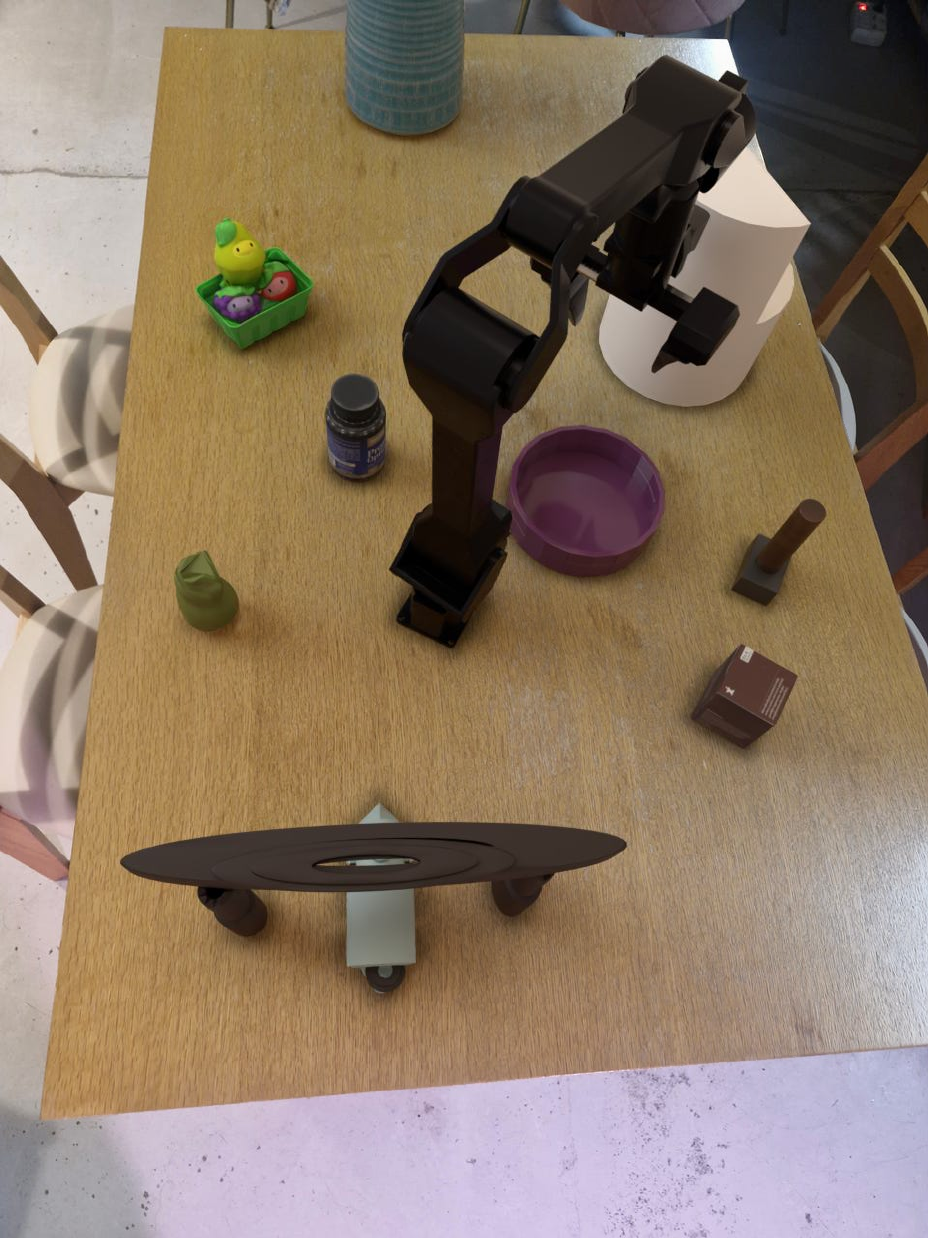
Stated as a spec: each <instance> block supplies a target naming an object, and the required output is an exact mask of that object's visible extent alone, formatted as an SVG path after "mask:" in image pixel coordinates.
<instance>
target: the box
mask: <svg viewBox="0 0 928 1238" xmlns="http://www.w3.org/2000/svg"><path fill="white" fill-rule="evenodd" d="M722 662H723V663H721V665H720V666H719V667H717V668H716V670H714V672H712V674H711V676H710V678H709V680H708V682H707V684H706V686H705V688H704V690H703V691H702V693H701V696H700V698H699V699H698V701H697V702H696V705H695V707H694V709H693V711H692V712H691V714H690V719H691V720H692V721H694V722H696V723H698V724H699V725H701V726H702V727H705V728H706V729H708V730H709V731H711V732H713V733H715V734H716V735H718V736H720V737H721V738H724V739H725V740H727V741H728V742H730V743H732V744H733V745H736V746H737V747H739V748H741V749H743V750H746V749H747V748H748V747H749V746H751V745H752V744H753V743H754V742H756V741H757V740H758V739H759V738H761V737H762V736H763V735H764V734H766V733H768V732H769V731H770V730H771V729H773V728H775V726H776V725H777V724H778V721H779V719H780V717H781V716H782V713H783V711H784V708H785V706H786V704H787V703H788V700H789V698H790V696H791V693H792V691H793V689H794V687H795V684H796V682H797V681H798V678H799V675H798V674H797V673H794V672H793V671H792V670H790V669H788V668H786V667H785V666H782V665H780V664H778V663H777V662H775V661H773V660H771V659H770V658H768V657H766V656H764V655H762V654H761V653H759V652H757V651H756V650H755V649H752V647H751V648H750V647H749V646H747V645H745V644H743V643H739V644H738V646H737V647H736V648H735V649H734V650H733V651H732V652H731V653H730V654H729V656H728V657H727V658H726V659H725V660H724V661H722Z"/></svg>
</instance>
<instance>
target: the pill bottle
mask: <svg viewBox="0 0 928 1238" xmlns="http://www.w3.org/2000/svg"><path fill="white" fill-rule="evenodd" d="M324 417H325V418H324V419H325V429H326V443H327V452H328V453H327V454H328V463H329V465H330V467H331V468H332V470H333V471H334V473H335V474H337V475H338V476H339V477H341V478H342V479H344V480H347V481H350V482H365V481H367V480H370V479H372V478H374V477H376V476H377V475H379V473H381V471H382V470H383V468H384V466H385V463H386V451H387V450H386V449H387V448H386V445H387V444H386V443H387V411H386V406H385V404H384V403H383V401H382V400H381V398H380V390H379V387H378V384H377V383H376V382H375V381H374V380H373V379H372V378H370V376H367V375H365V374H361V373H348V374H344V375H342V376H340V377H338V378H337V379H336V380H335V381H334V382H333V384H332V386H331V389H330V399H329V400H328V401H327V403H326V406H325V411H324Z"/></svg>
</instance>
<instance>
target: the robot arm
mask: <svg viewBox="0 0 928 1238" xmlns="http://www.w3.org/2000/svg"><path fill="white" fill-rule="evenodd" d="M748 84H749V80H747V79H746V78H744V77H742V76H740V75H738V74H736V73H734V72H732V71H730V70H728V69H727V70H726V71H725V72H724V73H723V74H722V75H721V77H720V78H719V79H718V80H717V79H715V78H713V77H711V76H709V75H708V74H706V73H703V72H702V71H700V70H697V69H696V68H695V67H691V66H690V65H688V64H686V63H684V62H682V61H680V60H678V59H676V58H674V57H672V56H670V55H668V54H664V55H661V56H660V57H658V58H657V59H656V60H654V61H653V62H652V63H651V64H650V65H649V66H646V67H644V68H643V69H642V70H641V71H640V72H638V73H637V75H636V76H635V78H634V80H632V81H630V83H629V84H628V86H627V87H626V90H625V93H624V104H623V108H622V112H621V115H620V116H618V117H617V118H616V119H614V120H613V121H612V122H610V123H609V124H607V125H606V126H605V127H603V128H602V129H601V130H600V131H598V132H596V133H595V134H594V135H593V136H591V137H590V138H589V139H587V140H586V141H584V142H583V143H581V144H580V145H579V146H577V147H576V148H574V149H573V150H572V151H571V152H569V153H568V154H566V155H565V156H564V157H562V158H561V159H560V160H559V161H557V162H555V163H554V164H553V165H551V166H550V167H549V168H548V169H546V170H545V171H543V172H542V173H541V174H538V176H533V177H530V176H529V175H523V176H520V177H519V178H518V179H517V180H516V181H515V182H514V183H513V184H512V185H511V188H510V189H509V190H508V192H507V194H506V195H505V197H504V199H503V201H502V202H501V204H500V206H499V207H498V209H497V211H496V213H495V215H493V216H494V217H493V218H492V220H491V221H490V222H489V223H488V224H486V225H484V226H483V227H481V228H480V229H478V230H476V231H475V232H474V233H472V234H471V235H469V236H468V237H467V238H465V239H463V240H462V241H460V242H459V243H457V244H456V245H454V246H453V247H451V248H450V249H448V250H446V251H445V252H444V253H443V254H442V255H441V256H440V257H439V259H438V260H437V263H436V264H435V266H434V268H433V270H432V271H431V273H430V275H429V277H428V279H427V280H426V283H425V284H424V286H423V288H422V289H421V291H420V293H419V295H418V297H417V299H416V300H415V302H414V304H413V306H412V308H411V310H410V311H409V313H408V315H407V318H406V319H405V322H404V325H403V328H402V333H401V342H402V350H401V356H402V363H403V366H404V367H403V368H404V370H405V375H406V378H407V382H408V385H409V387H410V388H411V390H412V391H413V392H414V393H415V395H416V396H417V397H418V399H419V400H420V402H421V403H422V404H423V405H424V407H425V408H426V410H427V411H428V412H429V414H430V415H431V502H430V503H428V504H427V505H426V506H425V507H424V508H423V509H422V510H420V511H418V512H416V513H415V515H414V517H413V519H412V520H411V523H410V525H409V528H408V529H407V532H406V533H405V535H404V538H403V540H402V542H401V544H400V547H399V549H398V551H397V552H396V555H395V557H394V558H393V560H392V562H391V564H390V566H389V568H388V571H389V572H390V573H391V574H392V575H394V576H395V577H396V578H399V579H401V580H402V581H404V582H405V583H407V584H408V585H409V586H411V591H410V592H409V594H408V596H407V598H406V600H405V602H404V603H403V605H402V606H401V608H400V609H399V611H398V613H397V615H396V618H395V619H396V620H395V621H396V623H397V624H398V625H400V626H402V627H405V628H407V629H409V630H410V631H413V632H415V633H417V634H419V635H421V636H423V637H425V638H428V639H429V640H431V641H433V642H436V643H438V644H440V645H441V646H444V647H445V648H448V649H454V648H455V647H456V646H457V644H458V642H459V641H460V639H461V636H462V635H463V633H464V631H465V630H466V628H467V626H468V624H469V622H470V620H471V619H472V617H473V615H474V613H475V611H476V610H477V609H478V608H479V607H480V606H481V604H482V603H483V602H484V600H485V599H486V598H487V597H488V595H489V594H490V593H491V592H492V590H493V588H494V587H495V584H496V582H497V580H498V578H499V575H500V574H501V572H502V569H503V567H504V565H505V562H506V560H507V558H508V555H509V553H508V552H507V551H505V550H506V548H507V544H508V537H509V536H510V535H512V532H511V530H510V526H511V523H512V519H513V517H512V514H511V511H510V510H508V509H507V508H505V505H503V504H500V503H499V502H498V501H496V500H495V499H493V498H494V492H495V485H496V478H497V471H498V464H499V457H500V450H501V443H502V435H503V429H504V426H505V425H506V423H507V422H508V421H509V420H510V419H511V418H512V416H513V415H514V414H517V413H519V412H520V411H521V410H523V409H524V408H525V406H526V405H527V404H528V403H529V401H530V400H531V398H532V397H533V395H534V394H535V392H536V391H537V389H538V387H539V386H540V384H541V383H542V380H543V379H544V377H545V375H546V374H547V372H548V371H549V370H550V368H551V366H552V364H553V363H554V362H555V361H554V360H555V359H556V358H557V356H558V354H559V352H560V351H561V349H562V348H563V346H564V344H565V343H566V341H567V337H568V333H569V322H570V323H571V325H572V326H574V327H577V326H578V325H579V323H580V322H581V321H582V318H583V315H584V312H585V308H586V302H587V297H588V296H587V295H588V290H589V283H590V281H591V282H594V283H595V285H594V286H596V287H597V288H599V289H601V290H603V291H605V292H606V293H608V294H609V295H610V294H611V295H613V296H615V297H616V298H618V299H620V300H621V301H623V302H625V303H627V304H628V305H630V306H632V307H634V308H635V309H637V310H639V311H640V312H642V311H643V310H644V309H645V307H646V306H647V305H649V306H651V307H652V308H654V309H656V310H658V311H659V312H661V313H663V314H665V315H666V316H668V317H670V318H671V319H673V320H675V321H677V322H676V323H675V325H674V327H673V329H672V330H671V332H670V334H669V336H668V339H667V341H666V342H665V343H664V344H663V346H662V347H661V349H660V351H659V353H658V355H657V357H656V359H655V361H654V363H653V365H652V369H651V372H653V373H656V372H657V371H659V370H660V369H662V368H663V367H664V366H666V365H668V364H671V363H674V362H677V361H679V362H681V363H683V364H690V363H692V364H694V365H696V366H703V365H706V364H707V363H708V361H709V360H710V359H711V357H712V356H713V355H714V353H715V352H716V351H717V349H718V348H719V347H720V345H721V344H722V343H723V341H724V340H725V339H726V337H727V336H728V335H729V333H730V332H731V331H732V329H733V328H734V326H735V324H736V322H737V320H738V318H739V316H740V311H739V306H738V305H737V304H735V303H733V302H731V301H730V300H728V299H726V298H724V297H722V296H721V295H719V294H717V293H715V292H714V291H712V290H710V289H708V288H706V287H703V288H702V289H701V290H700V292H699V293H698V294H697V296H696V297H695V298H693V297H691V296H689V295H687V294H686V293H684V292H682V291H680V290H679V289H677V288H675V287H673V286H671V285H670V284H668V282H669V279H670V276H672V277H673V278H676V277H677V276H678V275H679V273H680V272H681V271H682V269H683V266H684V264H685V261H686V258H687V255H688V254H689V253H690V252H691V251H694V250H695V248H696V246H697V244H698V242H699V240H700V237H701V235H702V233H703V231H704V229H705V227H706V225H707V223H708V220H709V218H710V214H709V212H708V211H706V210H705V209H703V208H701V207H700V206H698V205H696V204H695V203H696V200H697V197H698V194H699V192H701V193H707V192H708V191H710V190H711V189H712V188H713V187H714V186H715V184H716V183H717V182H718V181H719V179H720V178H721V177H722V176H723V175H724V173H725V172H726V171H727V170H728V168H729V167H730V166H731V165H732V164H733V162H734V161H735V160H736V159H737V157H738V156H739V155H740V154H741V152H742V151H743V150H744V149H745V148H746V146H747V147H748V146H749V144H750V143H751V141H752V140H753V139H754V136H755V135H756V132H757V129H758V126H757V116H756V111H755V108H754V105H753V103H752V101H751V100H750V98H749V97H748V96H747V94H746V93H745V92H746V90H747V87H748ZM612 226H613V229H612V232H611V234H609V236H608V237H607V238H606V240H605V241H604V244H603V249H602V251H603V252H605V253H606V254H605V253H603V252H602V251H600V248H599V247H597V246H596V245H593V243H595V242H597V241H598V240H599V239H600V238H601V236H602V234H603V233H605V232H606V231H607V230H609V228H611V227H612ZM511 247H512V248H514V249H516V250H518V251H519V252H521V253H523V255H526V256H528V257H529V266H530V270H531V271H533V272H534V273H537V274H538V275H540V280H541V281H542V282H543V283H545V284H546V285H547V286H548V287H549V289H550V297H549V299H550V300H549V301H550V302H549V318H548V323H547V324H546V326H545V328H544V330H543V331H542V333H541V335H538V334H536V333H535V332H533V331H531V330H530V329H528V328H526V327H525V326H523V325H522V324H519V323H518V322H516V321H514V320H513V319H511V318H509V317H508V316H506V315H505V314H503V313H501V312H500V311H498V310H497V309H495V308H493V307H491V306H490V305H488V304H486V303H485V302H483V301H481V300H480V299H478V298H477V297H475V296H473V295H472V294H470V293H468V292H466V291H465V290H463V289H462V288H460V286H461V284H462V282H463V281H464V279H465V278H466V277H468V276H470V275H472V274H473V273H475V272H476V271H478V270H479V269H481V268H482V267H484V266H485V265H487V264H489V263H490V262H492V261H494V260H495V259H496V258H498V257H500V256H501V255H502V254H504V253H506V252H507V251H509V249H511ZM400 618H402V619H400ZM450 642H451V643H452V644H451V643H450Z"/></svg>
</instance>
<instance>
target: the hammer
mask: <svg viewBox="0 0 928 1238" xmlns="http://www.w3.org/2000/svg"><path fill="white" fill-rule="evenodd" d="M826 517H827V509H826V507H825V505H824V504H823V503H822V502H820V501H819V500H816V499H814V498H805V499H802V500H801V502H800V503H799V504H798V505H797V506H796V508H794V510H793V511H792V512H791V514H790V515H789V516H788V518H787V519H786V520H785V521H784V523H783V524H782V525H781V526H780V527H779V529H778V530H777V531H776V532H775V533H774V535H773V536H772V537H769V536H766V535H764V534H762V533H759V532H758V533H757V535H756V536H755V537H754V538H753V539H752V541H751V542H750V544H749V545H748V546H747V548H746V551H745V553H744V556H743V558H742V560H741V563H740V566H739V568H738V571H737V574H736V576H735V578H734V581H733V583H732V586H731V590H730V591H732V592H734V593H736V594H739V595H741V596H743V597H744V598H747V599H749V600H751V601H754V602H756V603H758V604H759V605H763V606H764V607H767V606H768V605H769V604H770V603H771V602H772V601H773V600H774V598H775V597H776V596H778V594H779V592H780V589H781V587H782V584H783V581H784V579H785V576H786V573H787V570H788V567H789V565H790V563H791V560H792V557H793V555H794V554H795V553H796V552H797V551H798V549H800V548H801V546H802V545H803V544H804V543H805V542H806V540H807V539H808V538H809V537H810V536H811V535H812V534H813V533H814V531H815V530H816V529H817V528H818V527H819V526H820V525H821V524H822V522H823V521H824V520H825V519H826Z"/></svg>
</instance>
